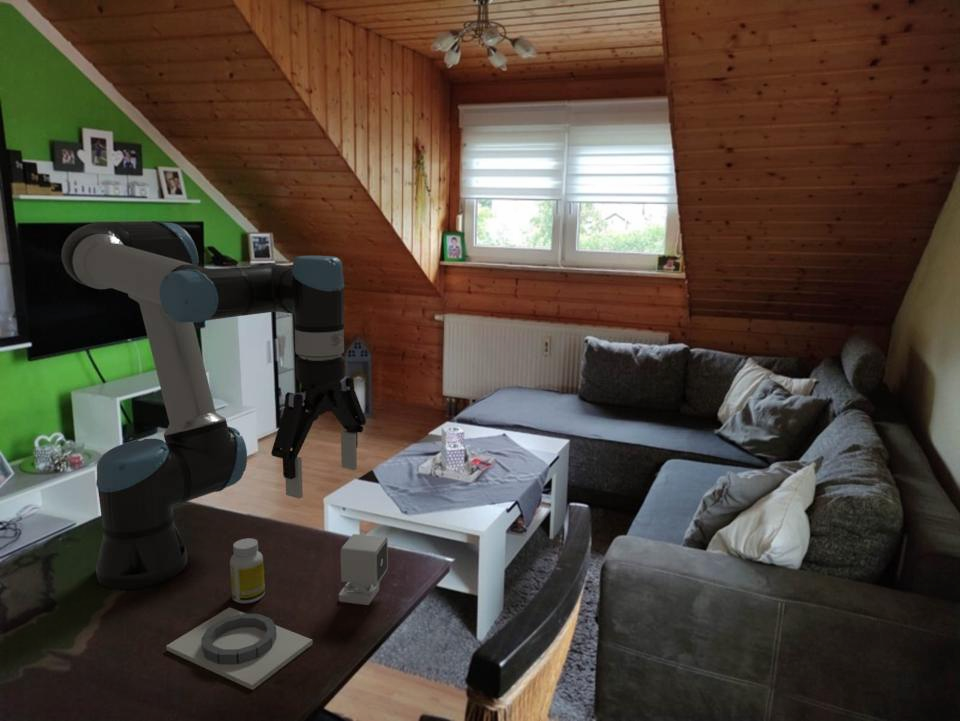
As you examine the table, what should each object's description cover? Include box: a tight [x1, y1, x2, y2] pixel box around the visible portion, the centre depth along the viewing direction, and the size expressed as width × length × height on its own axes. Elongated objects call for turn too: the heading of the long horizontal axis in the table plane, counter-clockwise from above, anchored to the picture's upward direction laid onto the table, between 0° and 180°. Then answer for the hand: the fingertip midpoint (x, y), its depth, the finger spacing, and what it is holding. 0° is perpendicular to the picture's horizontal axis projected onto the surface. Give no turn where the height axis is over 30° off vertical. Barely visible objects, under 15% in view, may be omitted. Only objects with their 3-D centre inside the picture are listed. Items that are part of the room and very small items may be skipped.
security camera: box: [338, 533, 389, 606], centre depth 119 cm, size 6×7×10 cm
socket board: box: [165, 606, 314, 691], centre depth 105 cm, size 18×12×2 cm, turn 61°
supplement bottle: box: [229, 537, 266, 604], centre depth 118 cm, size 5×5×10 cm
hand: (323, 481), depth 114 cm, fingers open, 13 cm apart
